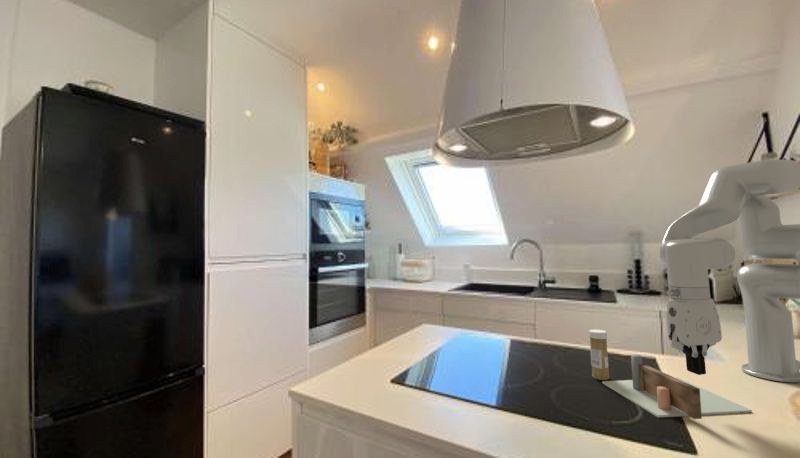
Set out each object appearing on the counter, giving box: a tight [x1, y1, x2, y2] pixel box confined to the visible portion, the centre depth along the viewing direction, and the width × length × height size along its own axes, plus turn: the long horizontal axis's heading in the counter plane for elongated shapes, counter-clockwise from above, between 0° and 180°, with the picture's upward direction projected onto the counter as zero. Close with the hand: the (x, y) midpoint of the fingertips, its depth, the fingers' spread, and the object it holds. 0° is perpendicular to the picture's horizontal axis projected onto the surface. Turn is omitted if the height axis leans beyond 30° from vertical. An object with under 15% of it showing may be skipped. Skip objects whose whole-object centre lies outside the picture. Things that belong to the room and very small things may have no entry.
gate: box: [639, 363, 703, 420], centre depth 83 cm, size 16×2×6 cm, turn 2°
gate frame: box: [601, 354, 753, 419], centre depth 89 cm, size 22×20×9 cm
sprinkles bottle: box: [588, 329, 611, 381], centre depth 103 cm, size 5×5×13 cm
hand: (696, 372), depth 82 cm, fingers closed
